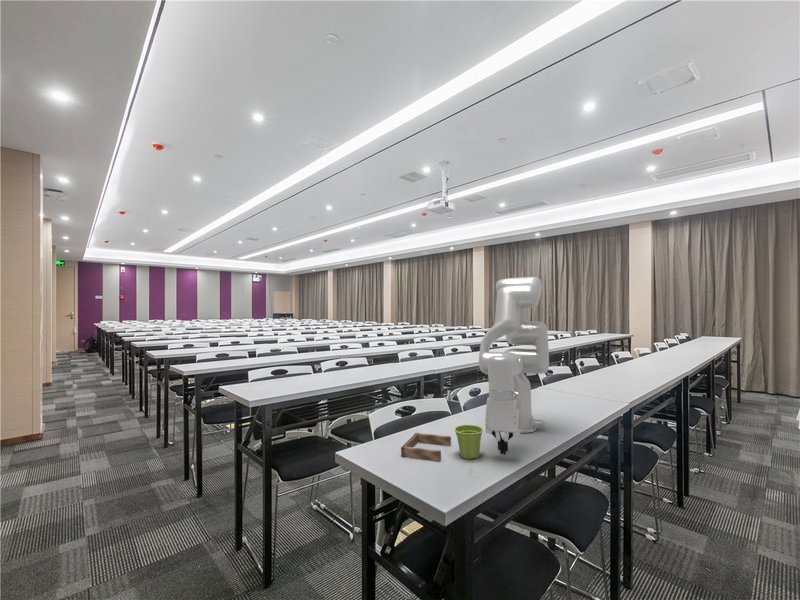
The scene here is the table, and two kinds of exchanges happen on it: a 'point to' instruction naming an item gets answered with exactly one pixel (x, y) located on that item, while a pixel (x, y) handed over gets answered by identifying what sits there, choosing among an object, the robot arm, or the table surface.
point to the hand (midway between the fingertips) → (503, 452)
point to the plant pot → (469, 440)
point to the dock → (421, 453)
